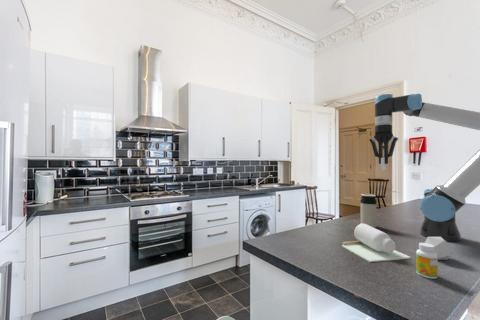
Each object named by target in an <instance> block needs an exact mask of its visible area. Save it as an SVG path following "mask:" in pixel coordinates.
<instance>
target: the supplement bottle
mask: <svg viewBox="0 0 480 320" xmlns="http://www.w3.org/2000/svg"><path fill="white" fill-rule="evenodd" d="M434 251H435V246H434V245H432V244H428V243H425V242H418V249H416V252H415V256H416V257H415V259H416V260H415V262H416V263H415V264H416V267H415V269H416V271H415V272H416V274H417V275H419V276H421V277H423V278H427V279H432V280H433V279H438V277H439V273H438V271H439V262H438V261H439V260H438V255H437V254H436V253H435V252H434Z"/></svg>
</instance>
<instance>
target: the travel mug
mask: <svg viewBox="0 0 480 320" xmlns="http://www.w3.org/2000/svg"><path fill="white" fill-rule="evenodd" d="M360 196H361V199H360V224H362V223H363V224H367V225H369V226H371V227H373V228H375V229H376V228H377V221H378V220H377V217H378V216H377V212H378V211H377V199H376V197H377V195H376V194H371V193H361V194H360Z"/></svg>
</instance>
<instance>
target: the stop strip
mask: <svg viewBox="0 0 480 320" xmlns="http://www.w3.org/2000/svg"><path fill="white" fill-rule="evenodd" d="M352 244H364V243H362V242H360V241H359V240H349V241H341V246H342V245H352Z"/></svg>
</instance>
